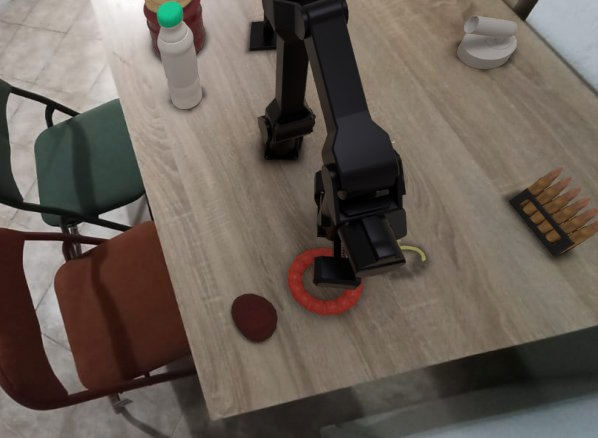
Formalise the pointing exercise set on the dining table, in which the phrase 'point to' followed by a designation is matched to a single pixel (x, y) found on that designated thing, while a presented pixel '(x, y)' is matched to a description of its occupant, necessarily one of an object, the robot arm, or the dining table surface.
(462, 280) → the dining table surface
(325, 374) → the dining table surface
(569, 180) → the ammunition clip
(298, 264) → the red ring
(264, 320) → the potato
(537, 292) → the dining table surface
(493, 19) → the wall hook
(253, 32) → the black angled piece
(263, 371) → the dining table surface
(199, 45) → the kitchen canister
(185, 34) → the water bottle
